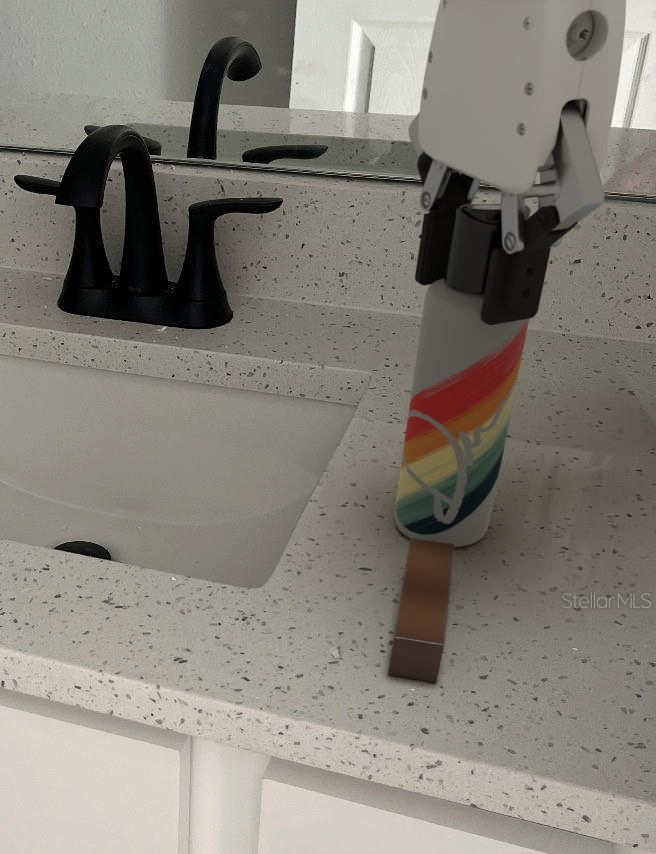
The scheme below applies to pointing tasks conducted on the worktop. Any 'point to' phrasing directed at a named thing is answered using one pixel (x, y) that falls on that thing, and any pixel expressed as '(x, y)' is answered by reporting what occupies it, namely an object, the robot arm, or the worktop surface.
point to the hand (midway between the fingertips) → (473, 296)
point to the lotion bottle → (459, 393)
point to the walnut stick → (422, 611)
